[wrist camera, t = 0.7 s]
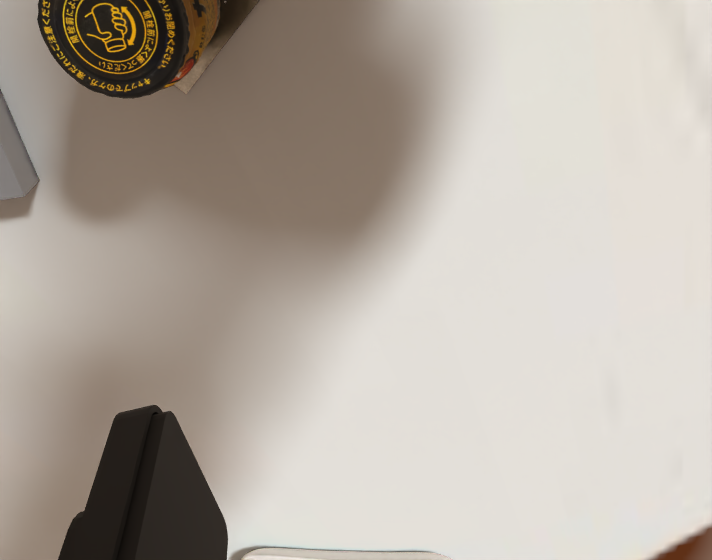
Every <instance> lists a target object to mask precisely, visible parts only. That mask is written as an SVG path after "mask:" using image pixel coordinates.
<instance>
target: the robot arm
mask: <svg viewBox="0 0 712 560" xmlns="http://www.w3.org/2000/svg"><path fill="white" fill-rule="evenodd" d="M227 546H228V535H227V527H226V523H225V520H224V517H223V515H222V513H221V511H220V509H219V507H218V504H217V502H216V500H215V498H214V496H213V494H212V492H211V490H210V488H209V486H208V484H207V482H206V479H205V477H204V475H203V473H202V471H201V469H200V467H199V465H198V463H197V461H196V459H195V457H194V454H193V452H192V450H191V448H190V446H189V444H188V442H187V440H186V438H185V436H184V434H183V432H182V430H181V427H180V425H179V423H178V421H177V419H176V417H175V415H174V414H173V413H172V412H171V411H168V412H162V411H161V409H160V408H159V407H158V406H157V405H151V406H147V407H143V408H138V409H134V410H130V411H125V412H121V413H118V414H117V415H116V416H115V418H114V420H113V423H112V426H111V430H110V433H109V436H108V439H107V442H106V445H105V448H104V451H103V455H102V458H101V461H100V464H99V467H98V470H97V473H96V476H95V480H94V483H93V486H92V489H91V492H90V495H89V498H88V501H87V504H86V508H85V511H83V512H80V513H78V514H77V516H76V517H75V518H74V519H73V520H72V523H71V525H70V527H69V529H68V532H67V534H66V537H65V540H64V543H63V546H62V549H61V552H60V555H59V558H58V560H227Z"/></svg>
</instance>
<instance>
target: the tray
mask: <svg viewBox="0 0 712 560" xmlns="http://www.w3.org/2000/svg"><path fill="white" fill-rule="evenodd" d="M38 182H39V178H38V176H37V174H36V171H35V169H34V167H33V164H32V162H31V160H30V157H29V155H28V153H27V150H26V148H25V146H24V143H23V141H22V139H21V136H20V134H19V132H18V129H17V127H16V125H15V122H14V120H13V118H12V115H11V113H10V111H9V108H8V106H7V104H6V101H5V99H4V97H3V94H2V92H1V90H0V200H5V199H12V198H18V197H24V196H26V194H27V193H28V192H29V191H30V190H31V189H32V188H33V187H34V186H35V185H36V184H37V183H38Z"/></svg>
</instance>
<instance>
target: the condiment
mask: <svg viewBox="0 0 712 560" xmlns="http://www.w3.org/2000/svg"><path fill="white" fill-rule="evenodd" d="M224 1H227V2H226V3H224ZM258 1H259V0H39V3H38V9H39V13H38V19H37V20H38V24H39V28H40V31H41V34H42V37H43V39H44V41H45V43H46V45H47V46H48V48H49V50H50V52H51V54H52V55H53V57H54V58H55V60H56V61H57V62H58V63H59V65H60V66H61V67H62V68H63V69H64V70H65V71H66V72H67V73H68V74H69V75H70V76H71V77H73V78H74V79H75V80H76V81H78V82H79V83H80V84H82V85H83V86H85V87H87V88H88V89H90V90H92V91H94V92H99V93H102V94H105V95H107V96H110V97H119V98H139V97H142V96H146V95H150V94H153V93H155V92H156V91H158V90H161V89H164V88H167V87H169V86H173V85H175V86H176V87H177V88H179V89H180V90H181V91H183V92H184V93H185V94H187V93H188V91H189V90H190V89H191V87H192V86H193V85H194V84H195V82H196V81H197V80H198V78H199V77H200V76H201V75H202V73H203V72H204V71H205V69H206V68H207V67H208V65H209V64H210V63H211V62H212V60H213V59H214V58H215V56H216V55H217V54H218V53H219V51H220V50H221V49H222V48H223V46H224V45H225V44H226V42H227V41H228V40H229V39H230V37H231V36H232V35H233V33H234V32H235V31H236V30H237V28H238V27H239V26H240V25H241V23H242V22H243V21H244V19H245V18H246V17H247V15H248V14H249V13H250V12H251V10H252V9H253V8H254V6H255V5H256V4H257V3H258Z"/></svg>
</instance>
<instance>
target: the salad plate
mask: <svg viewBox="0 0 712 560" xmlns="http://www.w3.org/2000/svg"><path fill="white" fill-rule="evenodd" d="M241 560H452V559H451V558H449V557H447V556H444V555H441V554H436V553H427V552H358V551H321V550H303V549H287V548H261V549H256V550H253V551H251V552H249V553H247V554H246V555H244V556H243V557H242V559H241Z"/></svg>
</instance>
